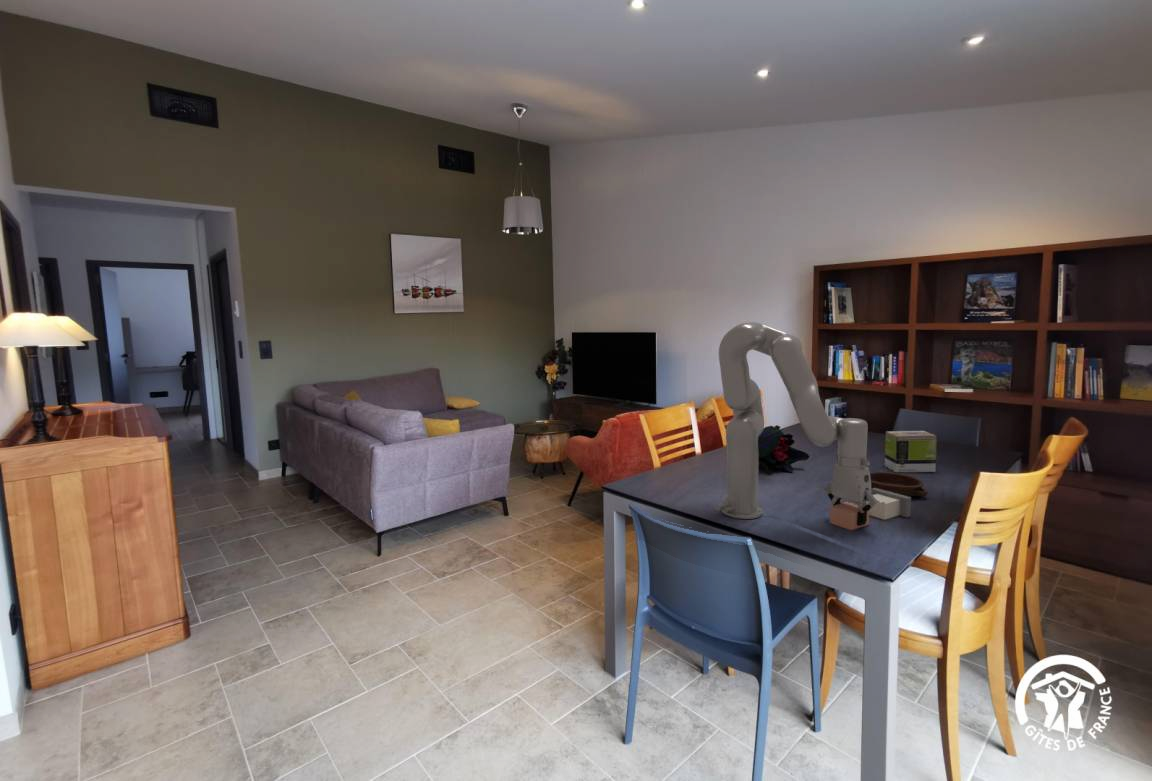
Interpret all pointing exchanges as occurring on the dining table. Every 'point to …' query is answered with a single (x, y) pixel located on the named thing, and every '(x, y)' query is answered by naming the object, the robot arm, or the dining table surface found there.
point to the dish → (897, 484)
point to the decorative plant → (778, 450)
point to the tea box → (910, 451)
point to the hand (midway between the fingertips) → (849, 520)
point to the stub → (846, 515)
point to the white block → (889, 504)
